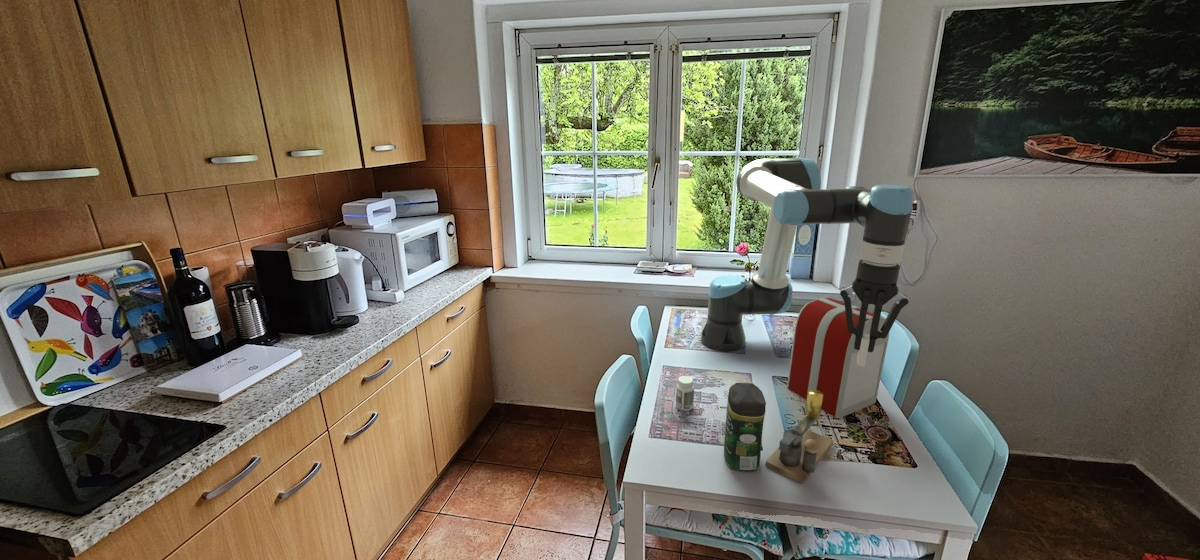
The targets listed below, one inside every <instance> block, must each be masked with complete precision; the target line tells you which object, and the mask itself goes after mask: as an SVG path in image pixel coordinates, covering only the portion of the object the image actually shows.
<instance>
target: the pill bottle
mask: <svg viewBox="0 0 1200 560" xmlns="http://www.w3.org/2000/svg"><path fill="white" fill-rule="evenodd" d="M675 389H676V390H675V391H676V392H675V394H676V395H675V407H676V409H678V410H681V411H690V410H692V409H693V408H694V396H695V386H694V379H693V378H692V377H691V376H688V375H682V376H679V377H678V380H677V385H676V388H675Z"/></svg>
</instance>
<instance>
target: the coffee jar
mask: <svg viewBox="0 0 1200 560" xmlns="http://www.w3.org/2000/svg"><path fill="white" fill-rule="evenodd" d="M726 404H727V405H726V414H725V415H726V416H725V426H724V427H725V432H724V442H723V454H724V455H723V456H724V458H725V461H726V462H725V463H726V464H727V465H728V467H729V468H732V469H734V470H737V471H739V472H740V471H741V472H752V471H753V472H754V471H755V470H758V468H759V466H760V463H761V462H760V461H761V451H762V440H763V432H764V431H763V429H764V422H765V421H764V420H765V416H766V404H767V402H766V399H765V396H764V393H763V391H762V390H761V389H760V388H759V387H758V386H757V385H755V383H753V382H735V383H734V384H732V385H730V387H729V389H728V394H727V403H726Z"/></svg>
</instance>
